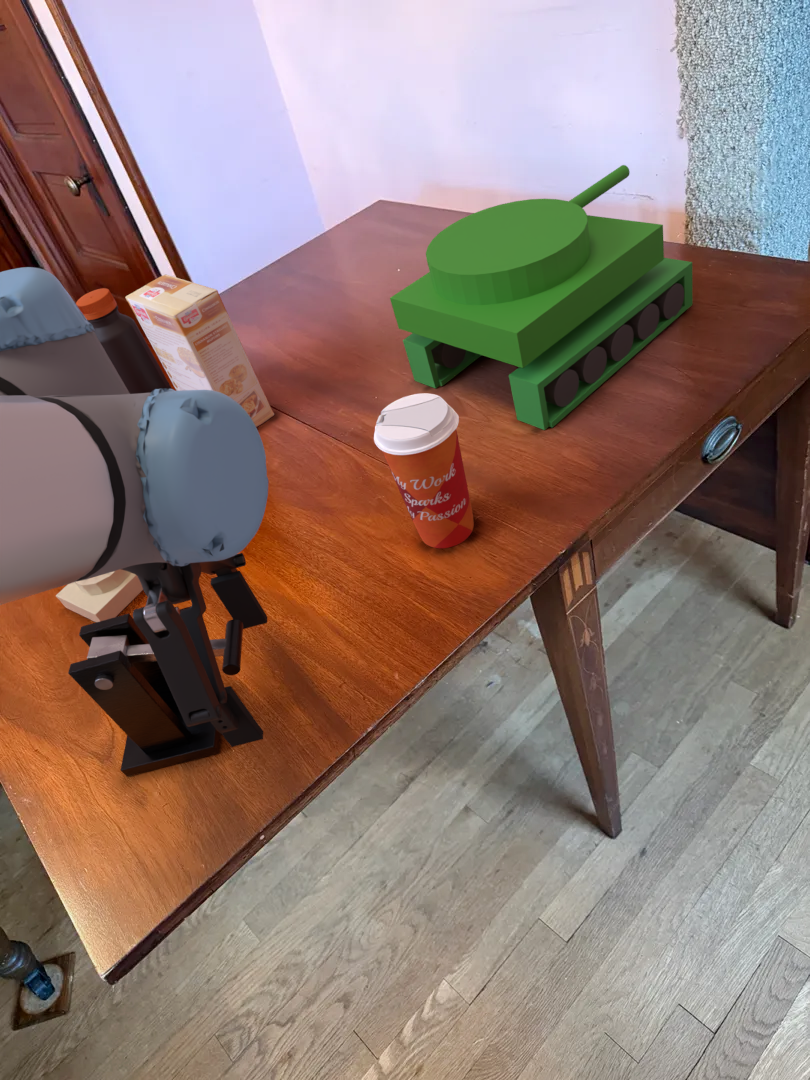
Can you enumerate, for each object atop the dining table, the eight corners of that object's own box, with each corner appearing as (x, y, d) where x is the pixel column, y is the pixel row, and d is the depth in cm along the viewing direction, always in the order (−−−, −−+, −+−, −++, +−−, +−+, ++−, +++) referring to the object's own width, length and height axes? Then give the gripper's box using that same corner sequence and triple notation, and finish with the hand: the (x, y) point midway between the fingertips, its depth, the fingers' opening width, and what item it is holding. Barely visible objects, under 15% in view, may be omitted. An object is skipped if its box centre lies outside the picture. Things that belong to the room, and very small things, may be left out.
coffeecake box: (276, 414, 107) (218, 288, 94) (237, 442, 104) (172, 316, 91) (224, 389, 117) (165, 271, 104) (187, 413, 114) (122, 296, 101)
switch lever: (244, 633, 66) (241, 614, 64) (241, 678, 62) (238, 660, 60) (102, 643, 64) (95, 624, 63) (90, 690, 61) (82, 671, 59)
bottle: (132, 427, 116) (59, 310, 102) (158, 401, 120) (91, 285, 106) (163, 429, 112) (92, 309, 99) (190, 402, 116) (124, 283, 103)
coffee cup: (402, 557, 79) (359, 445, 69) (418, 504, 84) (381, 393, 74) (479, 555, 76) (446, 439, 66) (491, 500, 81) (462, 385, 71)
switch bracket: (224, 690, 72) (156, 597, 63) (219, 753, 67) (143, 662, 58) (138, 712, 73) (58, 624, 64) (126, 777, 68) (37, 690, 59)
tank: (719, 289, 100) (722, 162, 89) (547, 431, 87) (526, 305, 77) (575, 263, 116) (562, 153, 105) (413, 380, 104) (380, 269, 93)
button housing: (105, 627, 83) (86, 604, 81) (65, 607, 88) (46, 585, 85) (167, 565, 88) (151, 541, 86) (127, 549, 93) (110, 526, 90)
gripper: (152, 610, 42) (290, 792, 56) (195, 390, 60) (291, 570, 74) (31, 643, 43) (198, 815, 57) (109, 416, 61) (221, 590, 75)
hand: (251, 677), depth 66 cm, fingers open, 12 cm apart
